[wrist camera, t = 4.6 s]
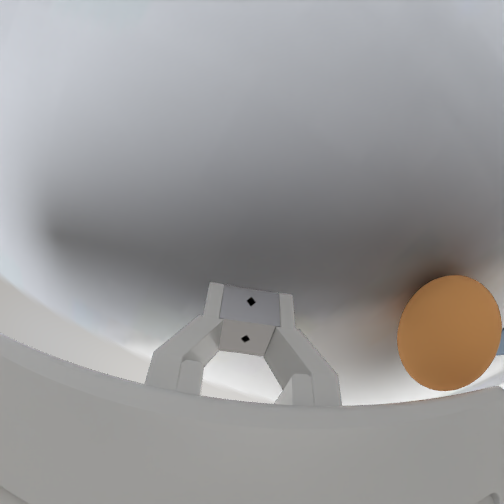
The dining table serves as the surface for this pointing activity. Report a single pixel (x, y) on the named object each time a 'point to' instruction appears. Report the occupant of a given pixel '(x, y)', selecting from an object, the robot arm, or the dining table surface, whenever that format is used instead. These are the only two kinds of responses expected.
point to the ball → (449, 333)
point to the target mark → (501, 345)
